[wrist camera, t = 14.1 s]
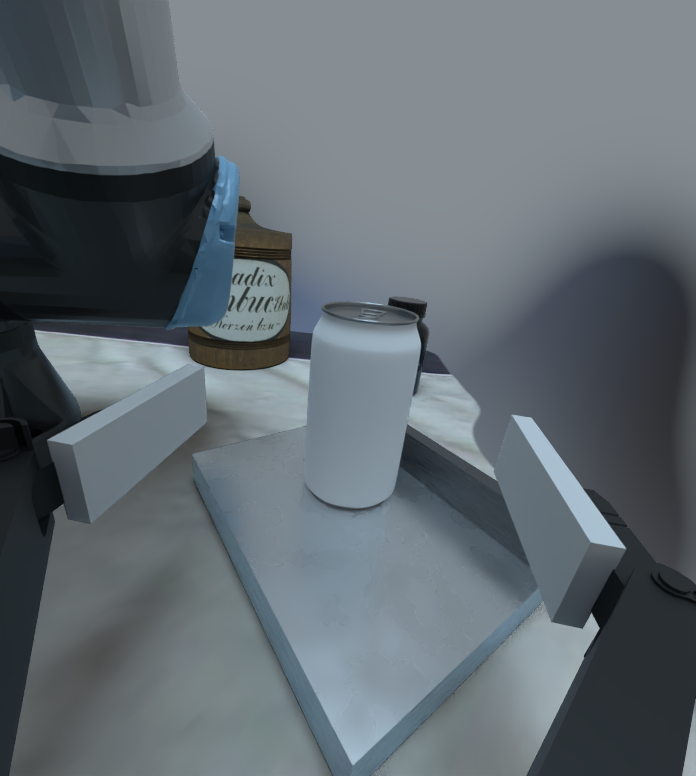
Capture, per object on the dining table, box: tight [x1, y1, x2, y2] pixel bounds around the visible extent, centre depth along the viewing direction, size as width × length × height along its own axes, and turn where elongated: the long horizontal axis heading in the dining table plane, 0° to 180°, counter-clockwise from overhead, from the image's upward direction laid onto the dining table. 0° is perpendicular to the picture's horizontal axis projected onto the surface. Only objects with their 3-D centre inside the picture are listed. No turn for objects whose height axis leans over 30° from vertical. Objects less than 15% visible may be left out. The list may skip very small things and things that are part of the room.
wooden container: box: [187, 196, 292, 370], centre depth 51 cm, size 15×15×22 cm
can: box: [304, 301, 421, 509], centre depth 23 cm, size 6×6×12 cm
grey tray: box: [192, 424, 543, 776], centre depth 23 cm, size 20×14×6 cm
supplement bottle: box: [388, 297, 429, 394], centre depth 46 cm, size 7×7×12 cm
